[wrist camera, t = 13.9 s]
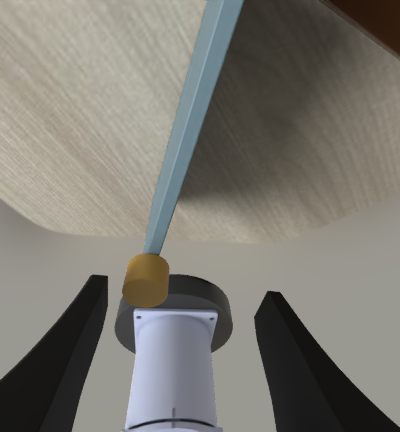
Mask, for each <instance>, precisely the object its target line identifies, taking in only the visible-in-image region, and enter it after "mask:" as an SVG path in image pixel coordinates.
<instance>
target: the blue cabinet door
mask: <svg viewBox="0 0 400 432" xmlns="http://www.w3.org/2000/svg"><path fill="white" fill-rule="evenodd" d="M243 3H244V0H207V3H206V7H205V11H204V14H203V18H202V21H201V25H200V29H199V32H198V36H197V40H196V43H195V47H194V51H193V54H192V58H191V62H190V65H189V69H188V73H187V76H186V80H185V84H184V87H183V91H182V95H181V98H180V102H179V106H178V109H177V113H176V117H175V120H174V124H173V128H172V131H171V135H170V139H169V142H168V146H167V150H166V153H165V157H164V161H163V164H162V168H161V172H160V175H159V179H158V183H157V186H156V190H155V194H154V197H153V201H152V206H151V212H150V217H149V223H148V228H147V234H146V239H145V245H144V251H143V254H140V255H137V256H135V257H134V258H132V259H131V261H130V262H129V264H128V267H127V272H126V276H125V281H124V285H123V289H122V294H123V297H124V298H125V300H126V301H127V302H129V303H130V304H132V305H134V306H138V307H144V308H148V307H155V306H158V305H160V304H161V303H163V302H164V301H165V300H166V298H167V296H168V283H169V265H168V263H167V262H166V260H164V259H163V258H162V257H160V256H159V255H160V252H161V249H162V246H163V242H164V240H165V237H166V234H167V231H168V228H169V225H170V222H171V219H172V216H173V213H174V210H175V207H176V204H177V201H178V198H179V195H180V192H181V189H182V186H183V183H184V180H185V177H186V174H187V171H188V168H189V165H190V162H191V159H192V156H193V153H194V150H195V147H196V144H197V141H198V138H199V135H200V132H201V129H202V126H203V123H204V120H205V117H206V114H207V111H208V108H209V105H210V102H211V99H212V96H213V93H214V90H215V87H216V84H217V81H218V78H219V75H220V72H221V69H222V66H223V63H224V60H225V57H226V54H227V51H228V48H229V45H230V42H231V39H232V36H233V33H234V30H235V27H236V24H237V21H238V18H239V15H240V12H241V9H242V6H243Z"/></svg>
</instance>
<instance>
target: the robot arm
mask: <svg viewBox="0 0 400 432" xmlns="http://www.w3.org/2000/svg"><path fill="white" fill-rule="evenodd" d="M107 307H108V276H103V275H91V276H90V277H89V279H88V281H87V282H86V284H85V285H84V287H83V288H82V290H81V291H80V292H79V294H78V295H77V297H76V298H75V299H74V301H73V302H72V303H71V304H70V306H69V307H68V308H67V309H66V311H65V312H64V313H63V314H62V316H61V317H60V318H59V319H58V321H57V322H56V323H55V324H54V325H53V326H52V327H51V329H50V330H49V331H48V332H47V333H46V334H45V335H44V337H43V338H42V339H41V340H40V341H39V342H38V343H37V344H36V345H35V346H34V347H33V348H32V350H31V351H30V352H29V353H28V354H27V355H26V356H25V357H24V358H23V359H22V360H21V361H20V362H19V363H18V364H17V365H16V366H15V367H14V368H13V369H11V370H10V371H9V372H8V373H7V374H6V375H5V376H4V377H3V378H2V379H1V380H0V432H72V428H73V423H74V419H75V415H76V411H77V407H78V403H79V399H80V396H81V392H82V389H83V386H84V382H85V379H86V377H87V374H88V371H89V367H90V365H91V362H92V359H93V356H94V353H95V350H96V347H97V344H98V341H99V338H100V335H101V332H102V329H103V325H104V320H105V316H106V312H107ZM217 317H218V312H217V311H216V310H212V309H171V308H136V309H135V310H134V329H135V347H136V357H135V364H134V371H133V378H132V385H131V392H130V398H129V405H128V412H127V418H126V426H125V430H121V431H120V432H223V428H218V427H217V417H216V406H215V393H214V381H213V370H212V358H211V342H212V338H213V334H214V330H215V325H216V321H217ZM254 319H255V329H256V336H257V342H258V346H259V350H260V354H261V358H262V362H263V366H264V370H265V374H266V378H267V382H268V386H269V390H270V395H271V399H272V405H273V410H274V417H275V424H276V430H277V432H400V427H399V426H397V425H396V424H395V423H394V422H393V421H392V420H391V419H390V418H388V417H387V416H386V415H385V414H384V413H383V412H382V411H381V410H379V408H378V407H376V406H375V405H374V404H373V403H372V402H371V401H370V400H369V399H368V398H367V397H366V396H365V395H364V394H363V393H362V392H361V391H360V390H359V389H358V388H357V387H356V386H355V385H354V384H353V383H352V382H351V381H350V380H349V379H348V377H346V375H345V374H344V373H343V372H342V371H341V370H340V369H339V368H338V367H337V366H336V364H335V363H334V362H333V361H332V360H331V359H330V357H329V356H328V355H327V354H326V353H325V351H324V350H323V349H322V348H321V347H320V345H319V344H318V343H317V341H316V340H315V339H314V338H313V336H312V335H311V334H310V333H309V332H308V330H307V329H306V327H305V326H304V325H303V323H302V322H301V321H300V319H299V318H298V316H297V315H296V314H295V312H294V311H293V309H292V308H291V307H290V305H289V304H288V302H287V301H286V300H285V298H284V297H283V295H282V294H281V293H280V292H274V291H267V293H266V295H265V297H264V299H263V301H262V303H261V305H260V307H259V309H258V311H257V313H256V315H255V316H254Z"/></svg>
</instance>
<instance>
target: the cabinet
mask: <svg viewBox="0 0 400 432" xmlns="http://www.w3.org/2000/svg"><path fill="white" fill-rule="evenodd" d="M320 1H321V2H322V3H324V4H325V5H326V6H328V7H329V8H330V9H332V10H333V11H335V12H336V13H337V14H339V15H340V16H341V17H343V18H344V19H345V20H347V21H348V22H349V23H351V24H352V25H353V26H355V27H356V28H357V29H359V30H360V31H361V32H363V33H364V34H365V35H367V36H368V37H369V38H371V39H372V40H373V41H375V42H376V43H378V44H379V45H380V46H382V47H383V48H384V49H386V50H387V51H388V52H390V53H391V54H392V55H394V56H395V57H396V58H398V59H399V60H400V0H320Z"/></svg>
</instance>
